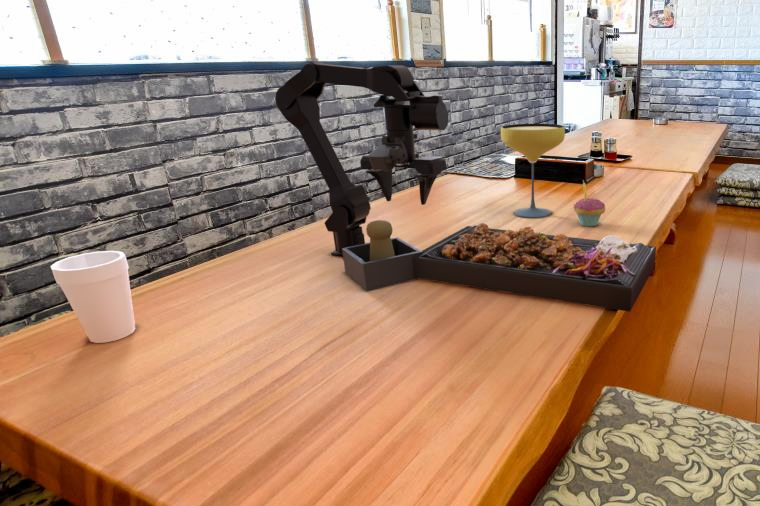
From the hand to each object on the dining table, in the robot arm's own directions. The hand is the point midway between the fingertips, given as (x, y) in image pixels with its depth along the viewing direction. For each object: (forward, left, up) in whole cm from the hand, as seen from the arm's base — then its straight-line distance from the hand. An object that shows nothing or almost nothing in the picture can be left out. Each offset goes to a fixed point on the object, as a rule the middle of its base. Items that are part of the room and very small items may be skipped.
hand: (406, 202), depth 117 cm
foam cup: (-24, -51, -13) cm, 58 cm away
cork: (+1, -11, -13) cm, 17 cm away
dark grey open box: (+1, -11, -13) cm, 17 cm away
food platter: (+30, +2, -13) cm, 33 cm away
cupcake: (+29, +43, -13) cm, 54 cm away
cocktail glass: (+10, +48, -13) cm, 51 cm away
